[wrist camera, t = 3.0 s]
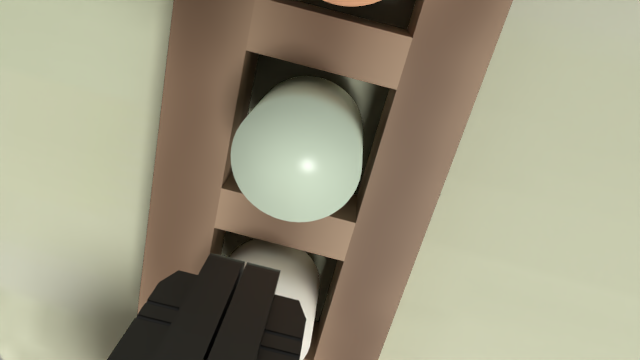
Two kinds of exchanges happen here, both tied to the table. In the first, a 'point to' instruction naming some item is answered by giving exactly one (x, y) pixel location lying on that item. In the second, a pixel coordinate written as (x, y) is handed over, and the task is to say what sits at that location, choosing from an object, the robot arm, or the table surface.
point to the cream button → (287, 277)
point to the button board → (382, 166)
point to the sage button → (300, 150)
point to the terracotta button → (351, 2)
